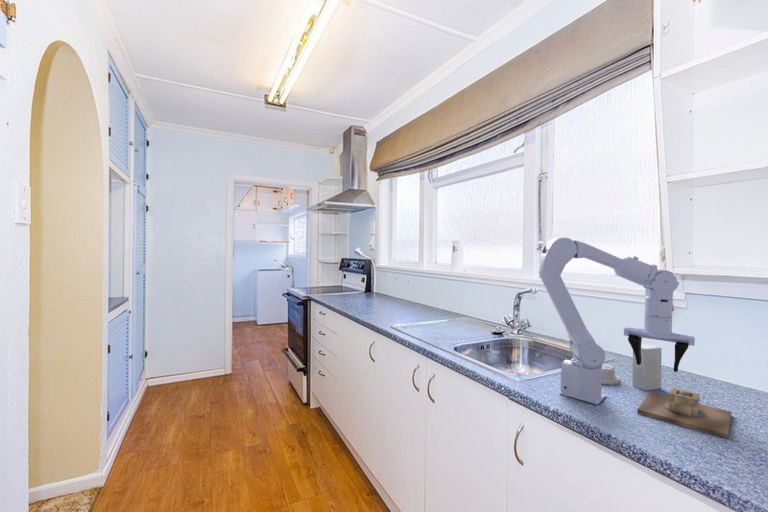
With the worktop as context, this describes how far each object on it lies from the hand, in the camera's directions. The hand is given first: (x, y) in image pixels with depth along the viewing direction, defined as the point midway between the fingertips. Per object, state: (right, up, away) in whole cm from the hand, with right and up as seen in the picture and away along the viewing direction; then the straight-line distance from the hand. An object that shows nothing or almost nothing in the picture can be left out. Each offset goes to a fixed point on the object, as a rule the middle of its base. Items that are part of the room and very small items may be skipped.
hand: (656, 367), depth 93 cm
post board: (+2, -10, -6) cm, 12 cm away
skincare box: (+5, -9, +11) cm, 15 cm away
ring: (+2, -8, -6) cm, 11 cm away
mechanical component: (-4, -9, +17) cm, 20 cm away
